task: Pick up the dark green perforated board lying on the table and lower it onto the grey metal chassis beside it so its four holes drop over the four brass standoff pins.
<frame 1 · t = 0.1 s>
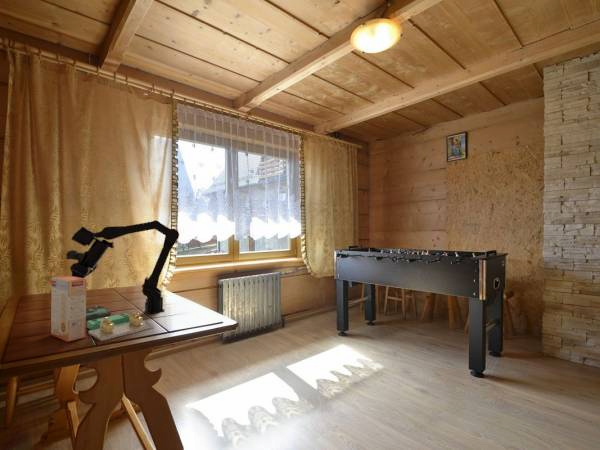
hand: (72, 284, 128), 15 cm above the table, tool tilted 30°, fingers open, 9 cm apart
disk drive: (91, 316, 134), on the table
cracker box: (68, 336, 108), on the table
board: (110, 324, 121), on the table
chassis: (122, 330, 114), on the table
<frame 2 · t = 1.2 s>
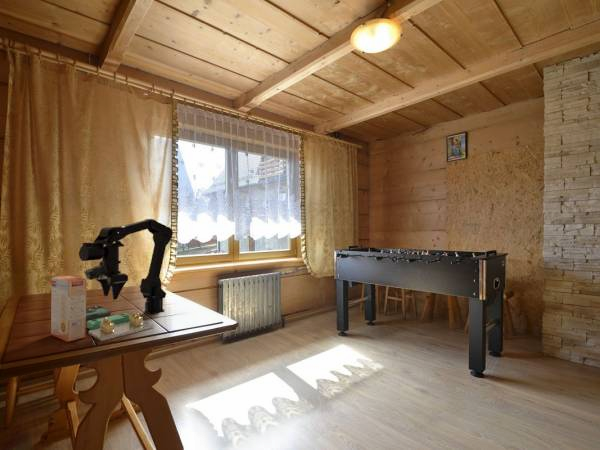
hand: (110, 297, 121), 11 cm above the table, tool pointing down, fingers open, 9 cm apart
nothing on the table moved.
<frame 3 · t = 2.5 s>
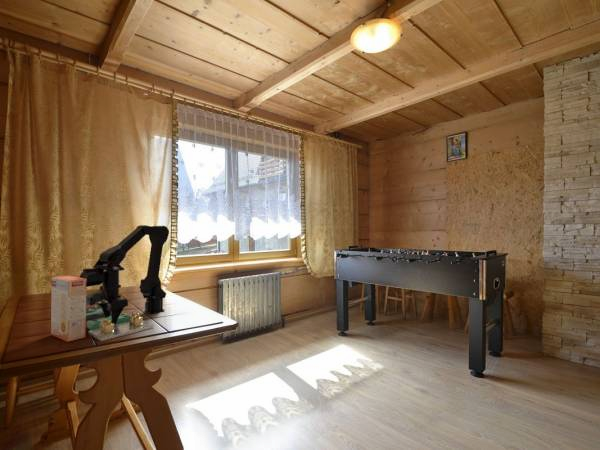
hand: (110, 322, 121), 1 cm above the table, tool pointing down, fingers closed on board, 6 cm apart
board: (110, 324, 121), on the table, touching gripper
everything else where it was.
when the fingers open (6 cm above the table, at t = 6.7 s): board stays where it is, resting on chassis.
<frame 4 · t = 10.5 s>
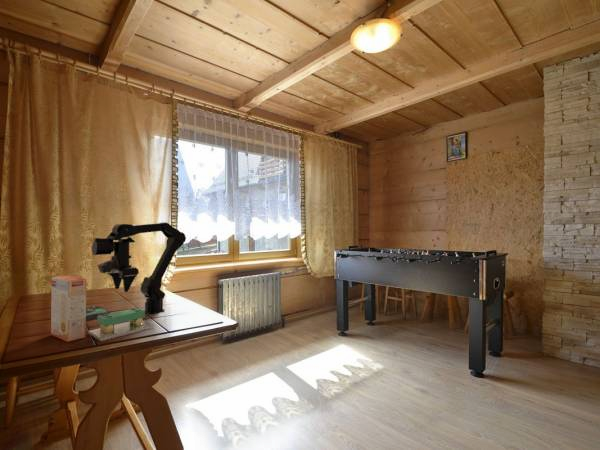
hand: (121, 290, 129), 12 cm above the table, tool pointing down, fingers open, 9 cm apart
board: (121, 319, 114), point 4 cm above the table, touching chassis
everything else where it was.
at the end: board 0.1 cm off-centre on the chassis, point 4.0 cm above the chassis's base; board tilted 0°; the gripper is holding nothing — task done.
